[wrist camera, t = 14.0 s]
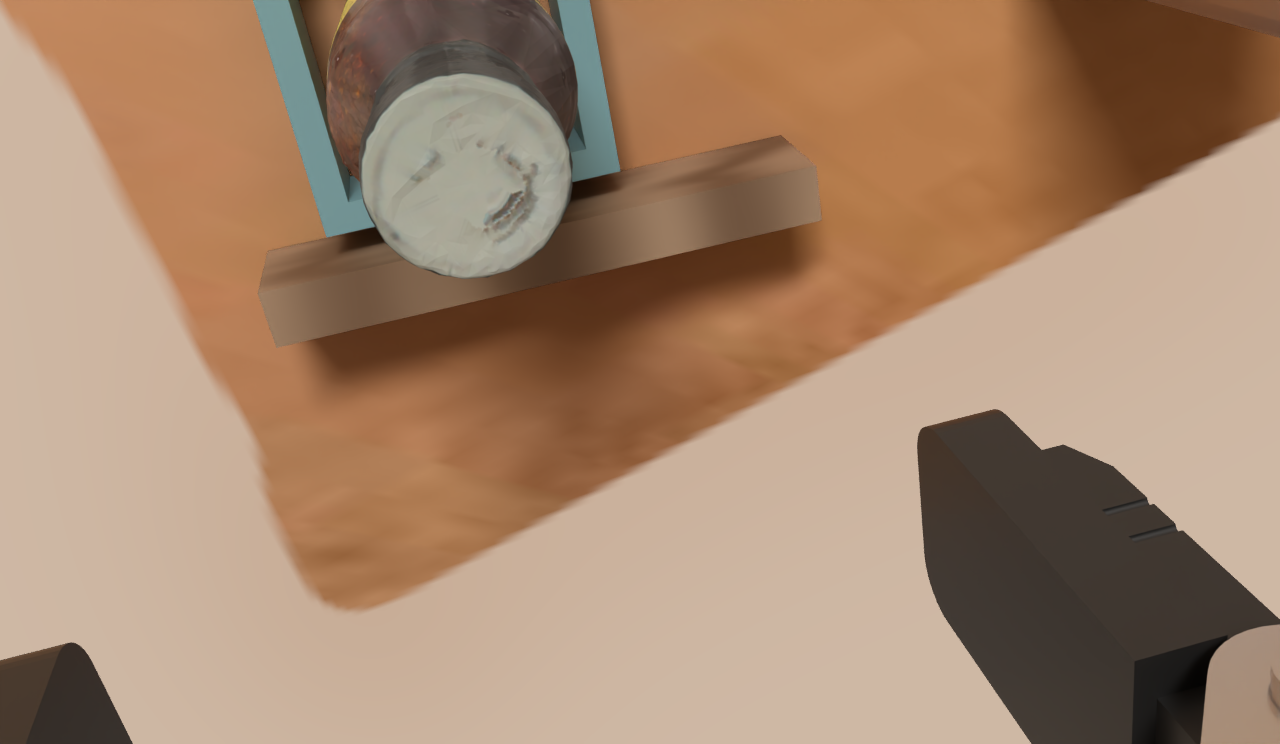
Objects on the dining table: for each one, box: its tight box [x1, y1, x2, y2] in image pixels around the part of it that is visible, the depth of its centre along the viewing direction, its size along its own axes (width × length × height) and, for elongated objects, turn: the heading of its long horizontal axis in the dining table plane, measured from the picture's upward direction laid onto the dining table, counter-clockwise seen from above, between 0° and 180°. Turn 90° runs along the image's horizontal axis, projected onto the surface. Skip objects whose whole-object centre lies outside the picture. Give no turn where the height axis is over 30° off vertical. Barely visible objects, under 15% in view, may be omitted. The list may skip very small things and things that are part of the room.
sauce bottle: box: [326, 0, 578, 279], centre depth 31 cm, size 6×6×20 cm
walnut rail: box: [258, 135, 822, 348], centre depth 42 cm, size 19×2×4 cm, turn 100°
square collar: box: [253, 0, 620, 237], centre depth 39 cm, size 10×11×3 cm
